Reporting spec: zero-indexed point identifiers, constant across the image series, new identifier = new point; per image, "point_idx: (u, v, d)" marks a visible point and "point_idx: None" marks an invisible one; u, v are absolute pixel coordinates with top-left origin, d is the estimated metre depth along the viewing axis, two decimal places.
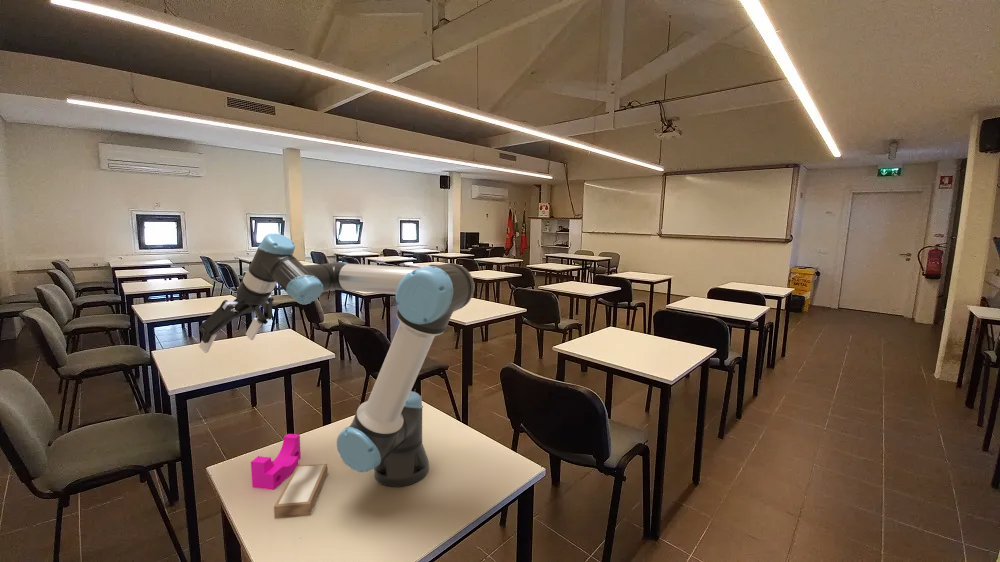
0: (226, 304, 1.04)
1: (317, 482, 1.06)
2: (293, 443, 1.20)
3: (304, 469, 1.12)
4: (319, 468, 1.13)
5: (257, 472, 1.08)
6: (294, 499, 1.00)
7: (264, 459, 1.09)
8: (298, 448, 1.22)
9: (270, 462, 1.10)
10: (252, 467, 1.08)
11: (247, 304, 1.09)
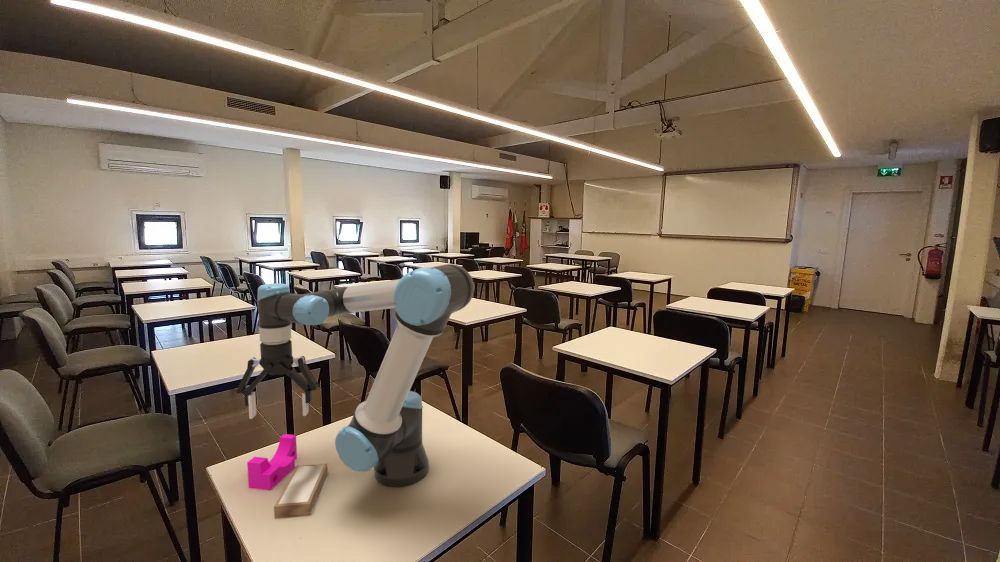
0: (249, 360, 1.10)
1: (317, 482, 1.06)
2: (290, 443, 1.20)
3: (304, 469, 1.12)
4: (319, 468, 1.13)
5: (254, 473, 1.08)
6: (294, 499, 1.00)
7: (260, 460, 1.09)
8: (294, 448, 1.21)
9: (267, 462, 1.10)
10: (249, 468, 1.08)
11: (269, 362, 1.10)
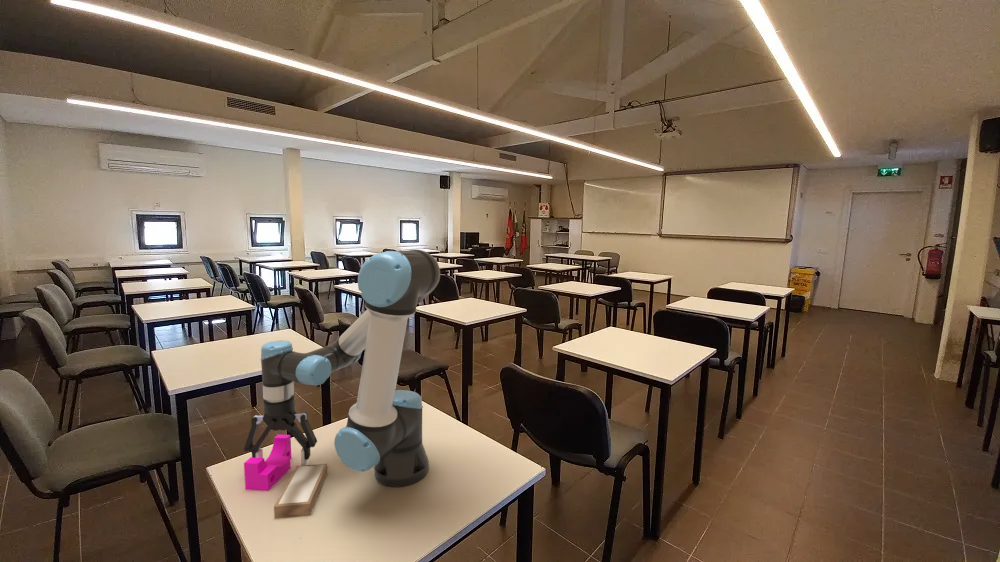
0: (253, 417, 1.12)
1: (317, 482, 1.06)
2: (284, 443, 1.19)
3: (304, 469, 1.12)
4: (319, 468, 1.13)
5: (251, 473, 1.07)
6: (294, 499, 1.00)
7: (257, 460, 1.08)
8: (289, 448, 1.21)
9: (263, 463, 1.09)
10: (246, 469, 1.07)
11: (272, 417, 1.12)
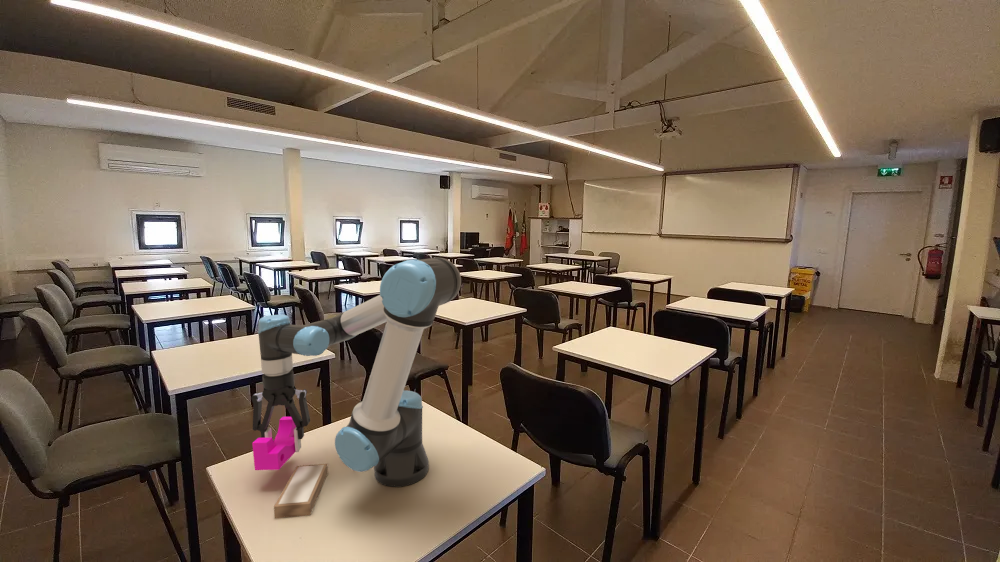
0: None
1: (317, 482, 1.06)
2: (290, 425, 1.18)
3: (304, 469, 1.12)
4: (319, 468, 1.13)
5: (260, 453, 1.05)
6: (294, 499, 1.00)
7: (266, 439, 1.07)
8: None
9: (272, 442, 1.08)
10: (254, 449, 1.05)
11: (271, 391, 1.11)
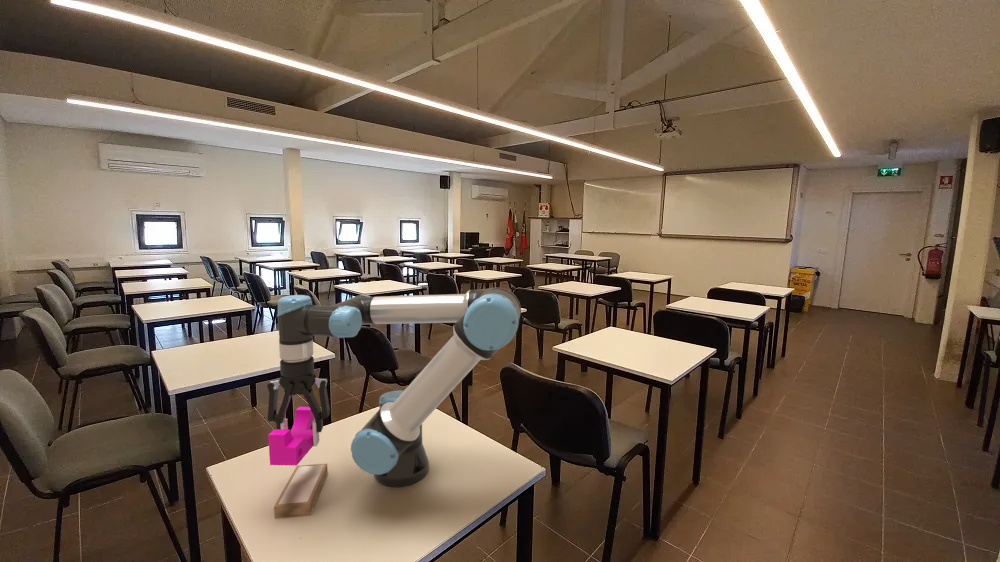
0: None
1: (317, 482, 1.06)
2: (308, 416, 1.08)
3: (304, 469, 1.12)
4: (319, 468, 1.13)
5: (276, 446, 0.95)
6: (294, 499, 1.00)
7: (283, 431, 0.97)
8: None
9: (289, 435, 0.98)
10: (270, 441, 0.95)
11: (289, 378, 1.01)
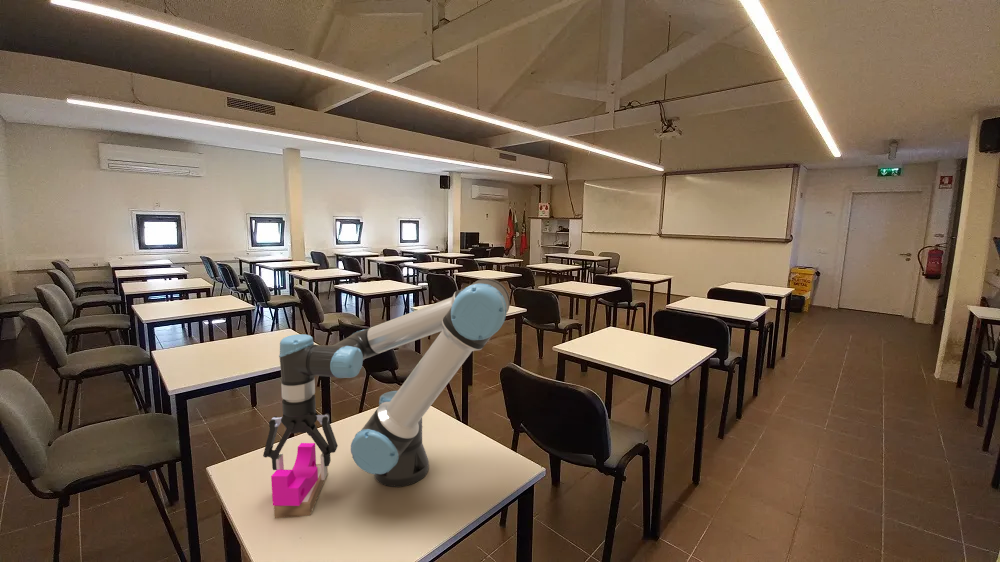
0: (270, 420, 1.03)
1: (317, 482, 1.06)
2: (310, 453, 1.09)
3: None
4: (319, 468, 1.13)
5: (279, 487, 0.97)
6: None
7: (286, 472, 0.98)
8: (314, 458, 1.11)
9: (292, 475, 0.99)
10: (273, 482, 0.97)
11: (292, 418, 1.02)
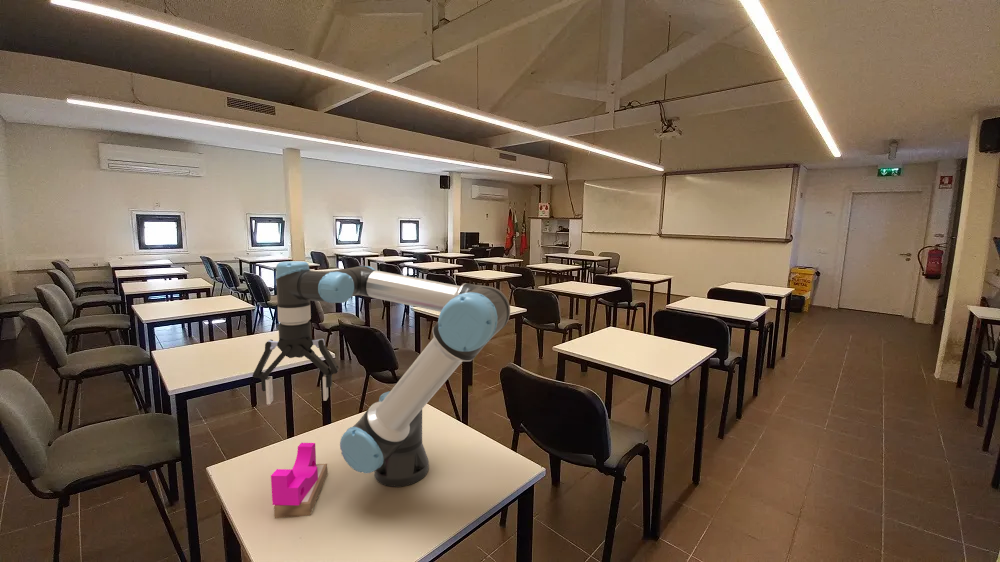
0: (267, 342, 1.04)
1: (317, 482, 1.06)
2: (310, 452, 1.09)
3: None
4: (319, 468, 1.13)
5: (279, 487, 0.97)
6: None
7: (285, 472, 0.98)
8: (314, 457, 1.11)
9: (292, 474, 0.99)
10: (273, 482, 0.97)
11: (288, 343, 1.04)
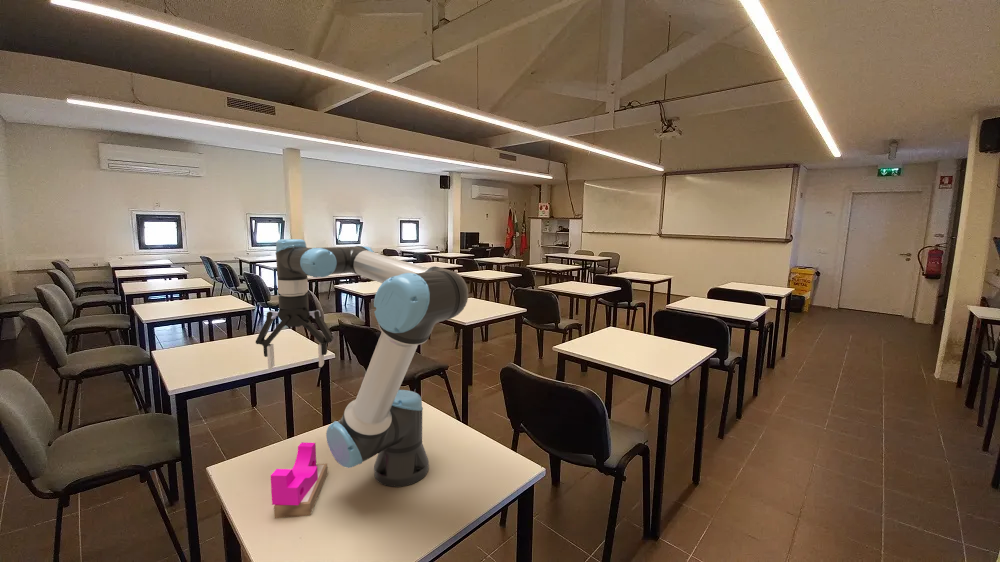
0: None
1: (317, 482, 1.06)
2: (310, 452, 1.09)
3: None
4: (319, 468, 1.13)
5: (279, 487, 0.97)
6: None
7: (285, 471, 0.98)
8: (314, 457, 1.11)
9: (291, 474, 0.99)
10: (272, 482, 0.97)
11: (287, 313, 1.15)
